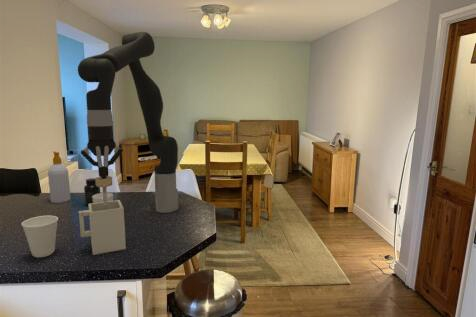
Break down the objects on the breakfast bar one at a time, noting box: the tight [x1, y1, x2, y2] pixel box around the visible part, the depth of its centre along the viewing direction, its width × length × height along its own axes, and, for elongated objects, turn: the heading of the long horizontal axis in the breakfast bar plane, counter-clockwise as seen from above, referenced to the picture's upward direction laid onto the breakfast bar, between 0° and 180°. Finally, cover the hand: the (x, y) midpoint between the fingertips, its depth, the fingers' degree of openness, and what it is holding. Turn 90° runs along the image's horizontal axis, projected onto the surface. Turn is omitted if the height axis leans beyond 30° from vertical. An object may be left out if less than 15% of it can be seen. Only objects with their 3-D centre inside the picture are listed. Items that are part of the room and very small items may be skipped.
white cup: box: [92, 192, 114, 203], centre depth 134 cm, size 8×8×10 cm
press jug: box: [78, 199, 127, 256], centre depth 108 cm, size 13×10×14 cm
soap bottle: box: [47, 150, 71, 204], centre depth 157 cm, size 9×9×24 cm
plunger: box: [94, 175, 113, 210], centre depth 107 cm, size 8×8×19 cm
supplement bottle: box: [83, 177, 101, 207], centre depth 152 cm, size 7×7×12 cm
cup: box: [21, 214, 59, 258], centre depth 103 cm, size 10×10×11 cm
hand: (103, 177), depth 105 cm, fingers closed
